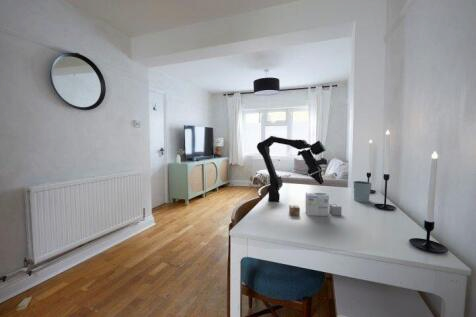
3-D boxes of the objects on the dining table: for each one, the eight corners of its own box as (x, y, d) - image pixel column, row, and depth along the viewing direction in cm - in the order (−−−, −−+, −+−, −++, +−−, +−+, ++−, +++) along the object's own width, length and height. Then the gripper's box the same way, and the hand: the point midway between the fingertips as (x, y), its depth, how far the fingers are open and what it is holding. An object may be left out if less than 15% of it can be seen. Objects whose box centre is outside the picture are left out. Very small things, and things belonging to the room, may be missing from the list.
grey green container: (349, 199, 142) (350, 181, 141) (359, 197, 146) (360, 180, 145) (363, 203, 133) (364, 184, 132) (374, 201, 137) (375, 182, 136)
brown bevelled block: (290, 216, 111) (290, 206, 110) (289, 213, 115) (289, 204, 115) (299, 216, 110) (299, 207, 110) (297, 213, 115) (297, 204, 114)
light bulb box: (325, 212, 117) (325, 192, 116) (329, 216, 110) (329, 195, 109) (304, 211, 118) (305, 192, 117) (307, 215, 111) (307, 195, 110)
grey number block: (332, 215, 112) (332, 205, 112) (329, 212, 117) (329, 203, 116) (341, 215, 112) (341, 206, 112) (337, 212, 117) (338, 203, 116)
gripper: (320, 152, 115) (335, 178, 112) (323, 152, 131) (336, 176, 128) (301, 161, 119) (315, 187, 116) (306, 161, 136) (318, 183, 133)
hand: (322, 183), depth 123 cm, fingers open, 9 cm apart
